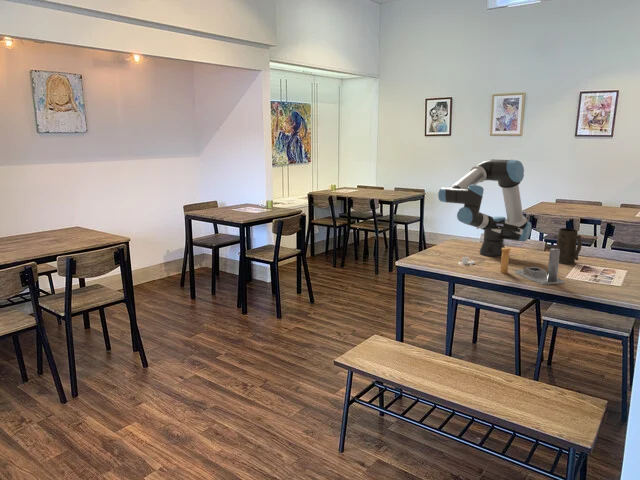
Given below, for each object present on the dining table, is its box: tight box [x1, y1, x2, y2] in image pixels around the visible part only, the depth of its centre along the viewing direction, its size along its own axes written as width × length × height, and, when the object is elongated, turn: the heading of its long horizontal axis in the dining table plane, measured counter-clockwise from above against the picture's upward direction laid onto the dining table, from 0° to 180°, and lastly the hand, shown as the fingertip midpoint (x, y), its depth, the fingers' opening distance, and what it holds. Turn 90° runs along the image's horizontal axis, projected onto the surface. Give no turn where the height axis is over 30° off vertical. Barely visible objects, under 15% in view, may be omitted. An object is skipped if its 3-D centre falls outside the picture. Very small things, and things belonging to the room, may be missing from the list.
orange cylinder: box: [500, 247, 511, 274], centre depth 247 cm, size 4×4×13 cm
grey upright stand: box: [514, 247, 565, 286], centre depth 237 cm, size 23×12×17 cm, turn 13°
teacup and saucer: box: [457, 256, 475, 266], centre depth 266 cm, size 9×8×4 cm
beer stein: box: [555, 227, 583, 265], centre depth 266 cm, size 15×10×20 cm
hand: (511, 231), depth 244 cm, fingers open, 13 cm apart
